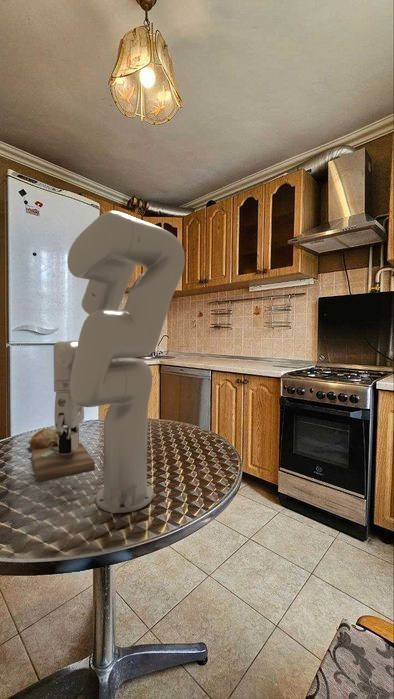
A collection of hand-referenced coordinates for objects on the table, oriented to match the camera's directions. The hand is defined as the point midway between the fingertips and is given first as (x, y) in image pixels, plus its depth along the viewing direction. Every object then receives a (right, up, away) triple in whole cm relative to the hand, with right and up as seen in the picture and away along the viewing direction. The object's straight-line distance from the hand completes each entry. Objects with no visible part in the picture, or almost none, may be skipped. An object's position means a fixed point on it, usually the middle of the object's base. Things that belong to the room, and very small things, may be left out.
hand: (69, 448), depth 85 cm
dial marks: (-5, -2, +4) cm, 7 cm away
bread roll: (-13, -4, +13) cm, 19 cm away
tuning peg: (-3, -2, +2) cm, 4 cm away
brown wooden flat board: (-3, -5, +1) cm, 5 cm away
